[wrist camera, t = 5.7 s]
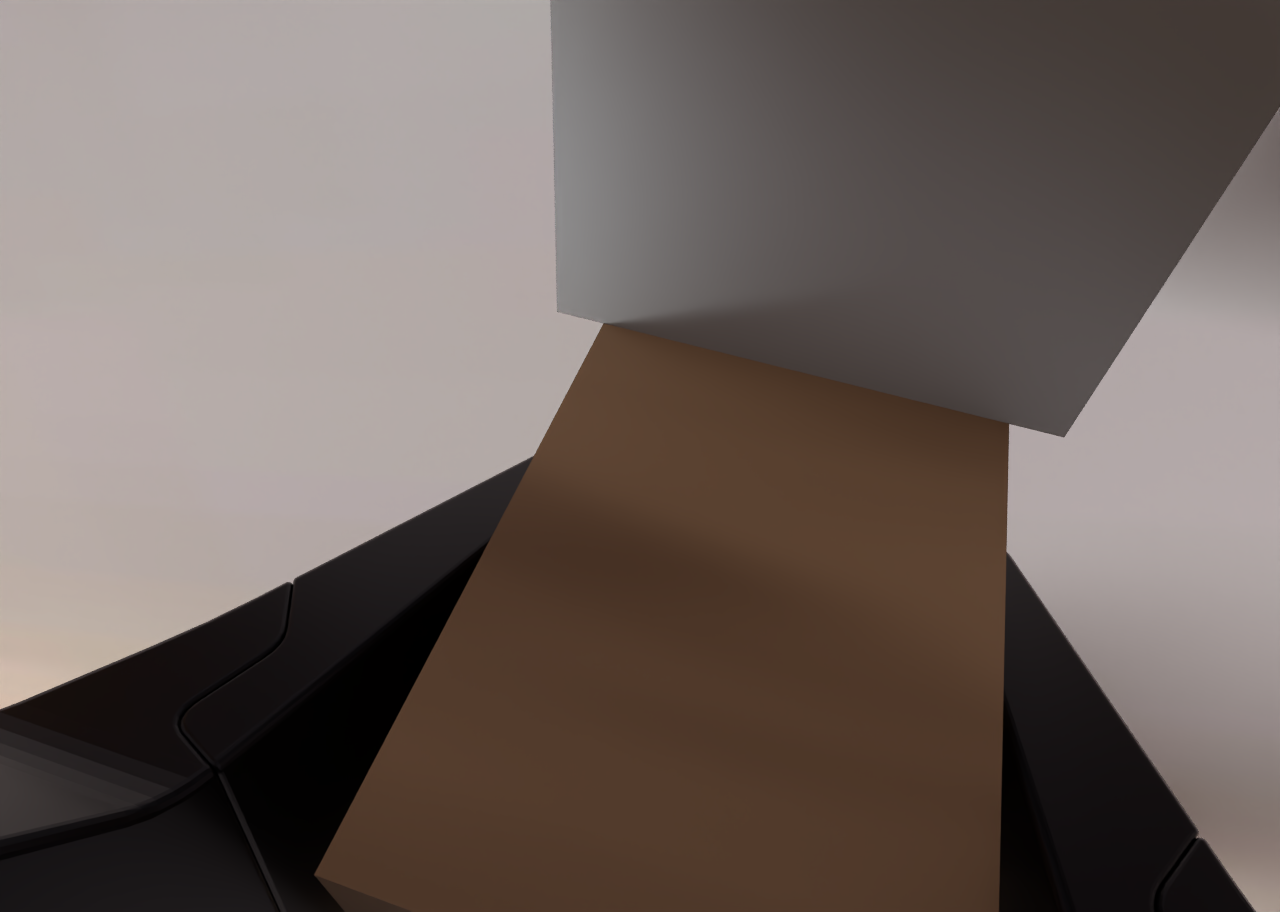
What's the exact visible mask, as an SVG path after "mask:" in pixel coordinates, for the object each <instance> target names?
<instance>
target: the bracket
mask: <svg viewBox="0 0 1280 912" xmlns="http://www.w3.org/2000/svg"><path fill="white" fill-rule="evenodd" d="M551 43H552V91H553V139H554V187H555V235H556V283H557V312H560V313H564V314H568V315H572V316H576V317H580V318H584V319H588V320H592V321H596V322H600V323H604V324H603V326H602V328H601V330H600V331H599V333H598V335H597V337H596V339H595V341H594V343H593V345H592V347H591V349H590V350H589V352H588V354H587V356H586V358H585V360H584V362H583V364H582V366H581V368H580V369H579V371H578V373H577V375H576V377H575V379H574V381H573V383H572V385H571V387H570V389H569V390H568V392H567V394H566V396H565V398H564V400H563V402H562V404H561V406H560V408H559V409H558V411H557V413H556V415H555V417H554V419H553V421H552V423H551V425H550V427H549V429H548V430H547V432H546V434H545V436H544V438H543V440H542V442H541V444H540V446H539V448H538V449H537V451H536V453H535V455H534V457H533V459H532V461H531V463H530V465H529V467H528V469H527V470H526V472H525V474H524V476H523V478H522V480H521V482H520V484H519V486H518V488H517V489H516V491H515V493H514V495H513V497H512V499H511V501H510V503H509V505H508V507H507V509H506V510H505V512H504V514H503V516H502V518H501V520H500V522H499V524H498V526H497V528H496V529H495V531H494V533H493V535H492V537H491V539H490V541H489V543H488V545H487V547H486V548H485V550H484V552H483V554H482V556H481V558H480V560H479V562H478V564H477V566H476V568H475V569H474V571H473V573H472V575H471V577H470V579H469V581H468V583H467V585H466V587H465V588H464V590H463V592H462V594H461V596H460V598H459V600H458V602H457V604H456V606H455V608H454V609H453V611H452V613H451V615H450V617H449V619H448V621H447V623H446V625H445V627H444V628H443V630H442V632H441V634H440V636H439V638H438V640H437V642H436V644H435V646H434V648H433V649H432V651H431V653H430V655H429V657H428V659H427V661H426V663H425V665H424V667H423V668H422V670H421V672H420V674H419V676H418V678H417V680H416V682H415V684H414V686H413V688H412V689H411V691H410V693H409V695H408V697H407V699H406V701H405V703H404V705H403V707H402V708H401V710H400V712H399V714H398V716H397V718H396V720H395V722H394V724H393V726H392V727H391V729H390V731H389V733H388V735H387V737H386V739H385V741H384V743H383V745H382V747H381V748H380V750H379V752H378V754H377V756H376V758H375V760H374V762H373V764H372V766H371V767H370V769H369V771H368V773H367V775H366V777H365V779H364V781H363V783H362V785H361V787H360V788H359V790H358V792H357V794H356V796H355V798H354V800H353V802H352V804H351V806H350V807H349V809H348V811H347V813H346V815H345V817H344V819H343V821H342V823H341V825H340V827H339V828H338V830H337V832H336V834H335V836H334V838H333V840H332V842H331V844H330V846H329V847H328V849H327V851H326V853H325V855H324V857H323V859H322V861H321V863H320V865H319V867H318V868H317V870H316V872H315V874H314V875H315V877H316V878H317V879H318V880H319V881H320V882H321V884H322V885H323V886H324V887H325V888H326V890H327V891H328V892H329V893H330V894H331V896H332V897H333V898H334V899H335V900H336V902H337V903H338V904H339V905H340V906H341V908H342V909H343V910H344V911H345V912H999V885H1000V836H1001V788H1002V740H1003V691H1004V643H1005V595H1006V546H1007V498H1008V450H1009V424H1012V425H1016V426H1020V427H1024V428H1028V429H1033V430H1037V431H1041V432H1045V433H1049V434H1053V435H1057V436H1061V437H1065V435H1066V434H1067V432H1068V431H1069V429H1070V427H1071V426H1072V424H1073V423H1074V421H1075V420H1076V418H1077V417H1078V415H1079V414H1080V412H1081V411H1082V409H1083V408H1084V406H1085V404H1086V403H1087V401H1088V400H1089V398H1090V397H1091V395H1092V394H1093V392H1094V391H1095V389H1096V388H1097V386H1098V385H1099V383H1100V381H1101V380H1102V378H1103V377H1104V375H1105V374H1106V372H1107V371H1108V369H1109V368H1110V366H1111V365H1112V363H1113V362H1114V360H1115V358H1116V357H1117V355H1118V354H1119V352H1120V351H1121V349H1122V348H1123V346H1124V345H1125V343H1126V342H1127V340H1128V339H1129V337H1130V335H1131V334H1132V332H1133V331H1134V329H1135V328H1136V326H1137V325H1138V323H1139V322H1140V320H1141V319H1142V317H1143V316H1144V314H1145V312H1146V311H1147V309H1148V308H1149V306H1150V305H1151V303H1152V302H1153V300H1154V299H1155V297H1156V296H1157V294H1158V293H1159V291H1160V289H1161V288H1162V286H1163V285H1164V283H1165V282H1166V280H1167V279H1168V277H1169V276H1170V274H1171V273H1172V271H1173V270H1174V268H1175V266H1176V265H1177V263H1178V262H1179V260H1180V259H1181V257H1182V256H1183V254H1184V253H1185V251H1186V250H1187V248H1188V246H1189V245H1190V243H1191V242H1192V240H1193V239H1194V237H1195V236H1196V234H1197V233H1198V231H1199V230H1200V228H1201V227H1202V225H1203V223H1204V222H1205V220H1206V219H1207V217H1208V216H1209V214H1210V213H1211V211H1212V210H1213V208H1214V207H1215V205H1216V204H1217V202H1218V200H1219V199H1220V197H1221V196H1222V194H1223V193H1224V191H1225V190H1226V188H1227V187H1228V185H1229V184H1230V182H1231V181H1232V179H1233V177H1234V176H1235V174H1236V173H1237V171H1238V170H1239V168H1240V167H1241V165H1242V164H1243V162H1244V161H1245V159H1246V158H1247V156H1248V154H1249V153H1250V151H1251V150H1252V148H1253V147H1254V145H1255V144H1256V142H1257V141H1258V139H1259V138H1260V136H1261V135H1262V133H1263V131H1264V130H1265V128H1266V127H1267V125H1268V124H1269V122H1270V121H1271V119H1272V118H1273V116H1274V115H1275V113H1276V112H1277V110H1278V108H1279V107H1280V0H551Z"/></svg>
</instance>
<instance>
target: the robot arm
mask: <svg viewBox="0 0 1280 912" xmlns="http://www.w3.org/2000/svg"><path fill="white" fill-rule="evenodd" d="M533 457H534V456H533ZM533 457H531V458H529V459H527V460H525V461H523V462H521V463H519V464H517V465H515V466H513V467H511V468H509V469H507V470H505V471H503V472H501V473H499V474H497V475H496V476H494V477H492V478H490V479H488V480H486V481H484V482H482V483H480V484H478V485H476V486H474V487H472V488H470V489H468V490H466V491H464V492H462V493H460V494H458V495H457V496H455V497H453V498H451V499H449V500H447V501H445V502H443V503H441V504H439V505H437V506H435V507H433V508H431V509H429V510H427V511H425V512H423V513H421V514H419V515H418V516H416V517H414V518H412V519H410V520H408V521H406V522H404V523H402V524H400V525H398V526H396V527H394V528H392V529H390V530H388V531H386V532H384V533H382V534H380V535H379V536H377V537H375V538H373V539H371V540H369V541H367V542H365V543H363V544H361V545H359V546H357V547H355V548H353V549H351V550H349V551H347V552H345V553H343V554H341V555H339V556H338V557H336V558H334V559H332V560H330V561H328V562H326V563H324V564H322V565H320V566H318V567H316V568H314V569H312V570H310V571H308V572H306V573H304V574H302V575H300V576H299V577H297V578H295V579H294V581H293V584H292V583H290V582H286V583H284V584H282V585H280V586H279V587H277V588H275V589H273V590H271V591H269V592H267V593H265V594H263V595H261V596H259V597H257V598H255V599H253V600H251V601H249V602H247V603H245V604H243V605H241V606H239V607H237V608H235V609H232V610H230V611H228V612H226V613H224V614H222V615H220V616H218V617H216V618H214V619H212V620H210V621H208V622H206V623H203V624H201V625H199V626H197V627H194V628H192V629H190V630H188V631H185V632H183V633H181V634H178V635H176V636H174V637H172V638H169V639H167V640H165V641H163V642H160V643H158V644H156V645H154V646H151V647H149V648H147V649H144V650H142V651H139V652H137V653H135V654H132V655H130V656H128V657H125V658H123V659H121V660H118V661H116V662H113V663H111V664H109V665H106V666H104V667H102V668H99V669H97V670H94V671H92V672H90V673H87V674H85V675H83V676H80V677H78V678H75V679H73V680H71V681H68V682H66V683H64V684H61V685H59V686H57V687H54V688H52V689H49V690H47V691H45V692H42V693H40V694H38V695H35V696H33V697H30V698H28V699H26V700H23V701H21V702H18V703H16V704H13V705H11V706H8V707H5V708H3V709H0V912H345V911H344V910H343V909H342V908H341V906H340V905H339V904H338V903H337V902H336V900H335V899H334V898H333V897H332V896H331V894H330V893H329V892H328V891H327V890H326V888H325V887H324V886H323V885H322V884H321V882H320V881H319V880H318V879H317V878H316V877H315V875H314V874H315V872H316V870H317V868H318V867H319V865H320V863H321V861H322V859H323V857H324V855H325V853H326V851H327V849H328V847H329V846H330V844H331V842H332V840H333V838H334V836H335V834H336V832H337V830H338V828H339V827H340V825H341V823H342V821H343V819H344V817H345V815H346V813H347V811H348V809H349V807H350V806H351V804H352V802H353V800H354V798H355V796H356V794H357V792H358V790H359V788H360V787H361V785H362V783H363V781H364V779H365V777H366V775H367V773H368V771H369V769H370V767H371V766H372V764H373V762H374V760H375V758H376V756H377V754H378V752H379V750H380V748H381V747H382V745H383V743H384V741H385V739H386V737H387V735H388V733H389V731H390V729H391V727H392V726H393V724H394V722H395V720H396V718H397V716H398V714H399V712H400V710H401V708H402V707H403V705H404V703H405V701H406V699H407V697H408V695H409V693H410V691H411V689H412V688H413V686H414V684H415V682H416V680H417V678H418V676H419V674H420V672H421V670H422V668H423V667H424V665H425V663H426V661H427V659H428V657H429V655H430V653H431V651H432V649H433V648H434V646H435V644H436V642H437V640H438V638H439V636H440V634H441V632H442V630H443V628H444V627H445V625H446V623H447V621H448V619H449V617H450V615H451V613H452V611H453V609H454V608H455V606H456V604H457V602H458V600H459V598H460V596H461V594H462V592H463V590H464V588H465V587H466V585H467V583H468V581H469V579H470V577H471V575H472V573H473V571H474V569H475V568H476V566H477V564H478V562H479V560H480V558H481V556H482V554H483V552H484V550H485V548H486V547H487V545H488V543H489V541H490V539H491V537H492V535H493V533H494V531H495V529H496V528H497V526H498V524H499V522H500V520H501V518H502V516H503V514H504V512H505V510H506V509H507V507H508V505H509V503H510V501H511V499H512V497H513V495H514V493H515V491H516V489H517V488H518V486H519V484H520V482H521V480H522V478H523V476H524V474H525V472H526V470H527V469H528V467H529V465H530V463H531V461H532V459H533ZM1198 834H1199V831H1198V829H1197V827H1196V826H1195V824H1194V823H1193V822H1192V820H1191V819H1190V817H1189V816H1188V814H1187V813H1186V811H1185V810H1184V808H1183V807H1182V805H1181V804H1180V803H1179V801H1178V800H1177V798H1176V797H1175V795H1174V794H1173V792H1172V791H1171V789H1170V788H1169V787H1168V785H1167V784H1166V782H1165V781H1164V779H1163V778H1162V776H1161V775H1160V773H1159V772H1158V770H1157V769H1156V768H1155V766H1154V765H1153V763H1152V762H1151V760H1150V759H1149V757H1148V756H1147V754H1146V753H1145V751H1144V750H1143V749H1142V747H1141V746H1140V744H1139V743H1138V741H1137V740H1136V738H1135V737H1134V735H1133V734H1132V733H1131V731H1130V730H1129V728H1128V727H1127V725H1126V724H1125V722H1124V721H1123V719H1122V718H1121V716H1120V715H1119V714H1118V712H1117V711H1116V709H1115V708H1114V706H1113V705H1112V703H1111V702H1110V700H1109V699H1108V698H1107V696H1106V695H1105V693H1104V692H1103V690H1102V689H1101V687H1100V686H1099V684H1098V683H1097V681H1096V680H1095V679H1094V677H1093V676H1092V674H1091V673H1090V671H1089V670H1088V668H1087V667H1086V665H1085V664H1084V662H1083V661H1082V660H1081V658H1080V657H1079V655H1078V654H1077V652H1076V651H1075V649H1074V648H1073V646H1072V645H1071V644H1070V642H1069V641H1068V639H1067V638H1066V636H1065V635H1064V633H1063V632H1062V630H1061V629H1060V627H1059V626H1058V625H1057V623H1056V622H1055V620H1054V619H1053V617H1052V616H1051V614H1050V613H1049V611H1048V610H1047V608H1046V607H1045V606H1044V604H1043V603H1042V601H1041V600H1040V598H1039V597H1038V595H1037V594H1036V592H1035V591H1034V590H1033V588H1032V587H1031V585H1030V584H1029V582H1028V581H1027V579H1026V578H1025V576H1024V575H1023V573H1022V572H1021V571H1020V569H1019V568H1018V566H1017V565H1016V563H1015V562H1014V560H1013V559H1012V557H1011V556H1010V555H1009V554H1008V553H1007V552H1006V595H1005V643H1004V691H1003V740H1002V788H1001V836H1000V885H999V912H1256V911H1255V910H1254V908H1253V907H1252V906H1251V904H1250V903H1249V902H1248V900H1247V899H1246V897H1245V896H1244V895H1243V893H1242V892H1241V890H1240V889H1239V888H1238V886H1237V885H1236V883H1235V882H1234V881H1233V879H1232V878H1231V876H1230V875H1229V873H1228V872H1227V871H1226V869H1225V868H1224V866H1223V865H1222V863H1221V862H1220V860H1219V859H1218V857H1217V856H1216V854H1215V853H1214V852H1213V850H1212V849H1211V847H1210V846H1209V844H1208V843H1207V841H1206V840H1205V839H1203V838H1196V837H1197V836H1198Z"/></svg>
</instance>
